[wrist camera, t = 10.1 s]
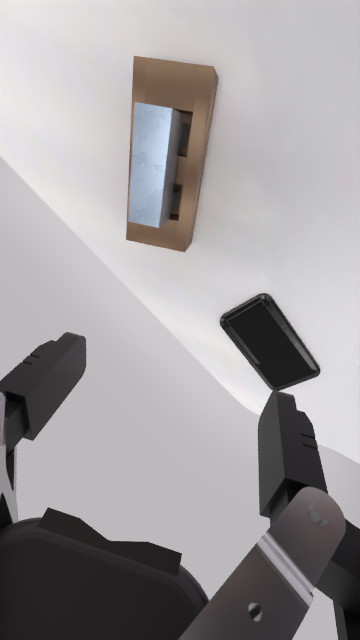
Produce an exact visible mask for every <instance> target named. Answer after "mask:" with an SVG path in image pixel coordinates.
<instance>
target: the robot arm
mask: <svg viewBox="0 0 360 640" xmlns="http://www.w3.org/2000/svg"><path fill="white" fill-rule="evenodd" d="M85 368H86V339H85V337H84V336H80V335H77V334H73V333H69V332H66V333H64V334H63V335H62V337H60V338H59V339H58V340H57V341H53V340H51V341H49V342H47V343H44V344H42V345H40V346H39V347H38V348H36V349H35V350H34V351H33V352H32V353H31V354H30V356H27V357H26V358H25V359H24V360H23V362H22V363H20V364H19V365H17V366H16V367H15V368H14V369H13V370H12V371H11V372H10V373H9V374H7V375H6V376H5V377H4V378H3V379H2V380H1V381H0V640H292V638H293V637H294V635H295V633H296V631H297V629H298V627H299V626H300V624H301V622H302V620H303V619H304V617H305V615H306V613H307V611H308V609H309V607H310V605H311V603H312V601H313V595H312V592H313V589H314V587H316V588H317V589H318V590H320V591H321V592H323V593H324V594H325V595H326V596H328V597H329V598H330V599H332V600H333V605H334V612H335V619H336V627H337V634H338V640H360V529H359V528H357V527H356V526H354V525H353V524H351V523H350V522H349V521H348V520H346V519H345V518H344V515H343V513H342V511H341V509H340V507H339V506H338V504H337V503H336V502H335V501H334V500H333V499H332V498H331V497H330V496H329V495H328V491H327V487H326V483H325V478H324V474H323V469H322V465H321V460H320V456H319V452H318V450H317V449H318V447H317V442H316V440H315V434H314V429H313V425H312V423H311V422H310V420H309V418H308V417H307V415H306V414H305V412H301V411H298V410H297V409H296V403H295V398H294V396H293V395H290V394H287V393H283V392H279V391H276V390H274V391H272V393H271V395H270V397H269V399H268V401H267V403H266V405H265V407H264V410H263V412H262V414H261V416H260V419H259V424H258V455H259V456H258V458H259V501H260V503H259V504H260V515H261V516H264V517H268V518H270V528H269V529H268V531H267V532H266V533H265V534H264V535H263V536H262V537H261V538H260V540H259V541H258V542H257V543H256V544H255V546H254V547H253V548H252V549H251V551H250V552H249V553H248V554H247V556H246V557H245V558H244V559H243V560H242V562H241V563H240V564H239V566H238V567H237V568H236V569H235V570H234V572H233V573H232V574H231V575H230V576H229V578H228V579H227V580H226V581H225V583H224V584H223V585H222V586H221V588H220V589H219V590H218V591H217V592H216V594H215V595H214V596H213V598H212V599H211V600H210V601H209V599H208V597H207V596H206V594H205V592H204V590H203V589H202V587H201V586H200V584H199V583H198V582H197V581H196V579H195V578H194V577H193V576H192V575H191V574H190V573H189V572H188V571H187V570H186V569H185V568H184V567H183V566H181V565H180V561H181V555H182V554H181V553H179V552H176V551H173V550H170V549H167V548H164V547H161V546H158V545H155V544H153V543H149V542H130V541H110V540H107V539H106V538H104V537H103V536H102V535H101V534H99V533H98V532H97V531H95V530H94V529H93V528H92V527H90V526H89V525H88V524H86V523H85V522H84V521H82V520H81V519H80V518H77V517H74V516H71V515H69V514H65V513H63V512H60V511H57V510H54V509H51V508H47V510H46V512H45V514H44V515H43V517H42V518H30V519H26V520H22V521H18V511H17V503H16V455H17V453H16V451H17V450H16V445H17V444H18V442H19V441H20V440H21V439H22V437H23V438H26V439H29V440H32V441H33V440H34V439H35V437H36V436H37V435H38V434H39V432H40V431H41V430H42V428H43V427H44V426H45V425H46V423H47V422H48V421H49V419H50V418H51V417H52V415H53V414H54V413H55V412H56V410H57V409H58V408H59V406H60V405H61V404H62V402H63V401H64V400H65V398H66V397H67V396H68V394H69V393H70V392H71V390H72V389H73V388H74V387H75V385H76V384H77V383H78V381H79V380H80V379H81V377H82V376H83V373H84V371H85Z"/></svg>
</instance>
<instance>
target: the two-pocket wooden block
mask: <svg viewBox="0 0 360 640" xmlns="http://www.w3.org/2000/svg"><path fill="white" fill-rule="evenodd" d="M217 83H218V76H217V74H216V71H215V69H214V67H211V66H204V65H197V64H189V63H182V62H174V61H167V60H160V59H152V58H145V57H138V56H134V64H133V88H132V112H131V136H130V161H129V185H128V209H127V233H126V240H130V241H135V242H139V243H144V244H149V245H153V246H158V247H163V248H168V249H172V250H177V251H182V252H185V251H186V250H187V248H188V247H189V245H190V244H191V241H192V235H193V229H194V223H195V217H196V211H197V205H198V198H199V192H200V186H201V180H202V174H203V168H204V162H205V156H206V150H207V144H208V138H209V132H210V126H211V119H212V113H213V107H214V101H215V95H216V89H217ZM135 102H138V103H144V104H150V105H155V106H161V107H167V108H172V109H174V110H176V111H178V112H179V113H181V114H183V119H182V122H184V123H186V124H188V125H190V132H189V139H188V146H187V148H179V150H178V157H177V165H176V173H175V181H174V188H175V189H180V190H181V195H180V202H179V209H177V210H176V211H174V212H173V213H172V214H170V219H169V220H168V221H167V222H166V223H164V224H163V225H162V226H161V227H159V228H157V227H152V226H147V225H143V224H138V223H134V222H129V221H128V215H129V197H130V179H131V160H132V142H133V124H134V105H135Z"/></svg>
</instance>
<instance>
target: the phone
mask: <svg viewBox="0 0 360 640" xmlns="http://www.w3.org/2000/svg"><path fill="white" fill-rule="evenodd" d="M220 325H221V327H222V328H223V330H224V331H225V332H226V334H227V335H228V336H229V337H230V339H231V340H232V341H233V342H234V344H235V345H236V346H237V347H238V349H239V350H240V351H241V353H242V354H243V355H244V356H245V358H246V359H247V360H248V361H249V363H250V364H251V365H252V367H253V368H254V369H255V370H256V372H257V373H258V374H259V375H260V377H261V378H262V379H263V381H264V382H265V383H266V384H267V386H268V387H269V388H270V389H271V390H273V391H274V390H276V391H280V390H283V389H285V388H288V387H291V386H293V385H296V384H299V383H301V382H304V381H307V380H309V379H312V378H315V377H317V376H318V375H319V374H320V367H319V365H318V364H317V362H316V361H315V359H314V358H313V356H312V355H311V353H310V352H309V351H308V349H307V348H306V346H305V345H304V343H303V342H302V340H301V339H300V338H299V336H298V335H297V333H296V332H295V330H294V329H293V327H292V326H291V325H290V323H289V322H288V320H287V319H286V317H285V316H284V314H283V313H282V312H281V310H280V309H279V307H278V306H277V304H276V303H275V301H274V300H273V299H272V297H271V296H270V295H268V294H265V293H264V294H259V295H257V296H256V297H254V298H252V299H250V300H249V301H247V302H245V303H243V304H241V305H240V306H238V307H236V308H234V309H233V310H231V311H229V312H227V313H226V314H224V315H223V316H222V317H221V320H220Z"/></svg>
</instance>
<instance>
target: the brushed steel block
mask: <svg viewBox="0 0 360 640" xmlns="http://www.w3.org/2000/svg"><path fill="white" fill-rule="evenodd" d="M182 119H183V114H181V113H179V112H178V111H176V110H174V109H172V108H167V107H161V106H155V105H150V104H144V103H138V102H135V105H134V124H133V142H132V160H131V179H130V197H129V215H128V221H129V222H134V223H138V224H143V225H147V226H152V227H157V228H159V227H161V226H162V225H163V224H164V223H166V222H167V221H168V220H169V219H170V214H172V213H173V212H174V211H176V210H177V209H179V202H180V195H181V190H180V189H175V188H174V181H175V173H176V165H177V157H178V150H179V148H187V146H188V139H189V132H190V125H188V124H186V123H184V122H182Z"/></svg>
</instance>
